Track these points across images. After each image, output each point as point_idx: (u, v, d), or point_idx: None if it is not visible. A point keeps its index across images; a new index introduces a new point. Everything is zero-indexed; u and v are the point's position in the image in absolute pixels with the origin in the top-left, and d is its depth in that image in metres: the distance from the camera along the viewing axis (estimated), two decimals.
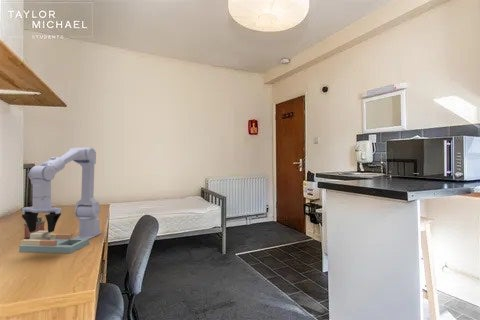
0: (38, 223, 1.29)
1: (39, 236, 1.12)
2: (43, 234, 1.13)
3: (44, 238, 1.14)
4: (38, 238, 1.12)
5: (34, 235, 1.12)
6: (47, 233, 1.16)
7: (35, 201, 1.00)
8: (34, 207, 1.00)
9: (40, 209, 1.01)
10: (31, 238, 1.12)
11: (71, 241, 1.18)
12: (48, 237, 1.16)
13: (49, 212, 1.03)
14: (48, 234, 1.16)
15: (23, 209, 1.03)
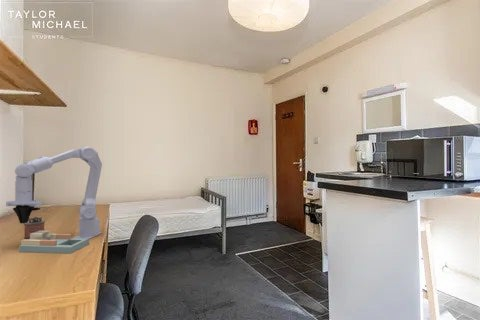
0: (38, 223, 1.29)
1: (39, 236, 1.12)
2: (43, 234, 1.13)
3: (44, 238, 1.14)
4: (38, 238, 1.12)
5: (34, 235, 1.12)
6: (47, 233, 1.16)
7: (17, 195, 1.12)
8: (16, 201, 1.13)
9: (22, 202, 1.13)
10: (31, 238, 1.12)
11: (71, 241, 1.18)
12: (48, 237, 1.16)
13: (30, 205, 1.15)
14: (48, 234, 1.16)
15: (7, 203, 1.15)
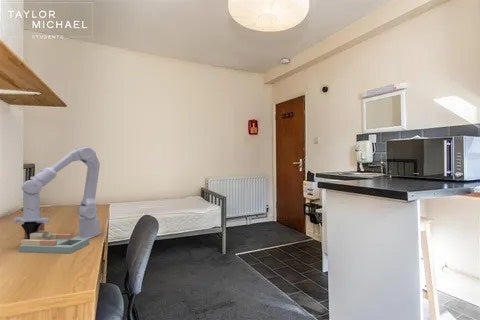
0: None
1: (39, 236, 1.12)
2: (43, 234, 1.13)
3: (44, 238, 1.14)
4: (38, 238, 1.12)
5: (34, 235, 1.12)
6: (47, 233, 1.16)
7: (25, 212, 1.12)
8: (24, 217, 1.12)
9: (30, 219, 1.12)
10: (31, 238, 1.12)
11: (71, 241, 1.18)
12: (48, 237, 1.16)
13: (38, 222, 1.15)
14: (48, 234, 1.16)
15: (15, 219, 1.15)
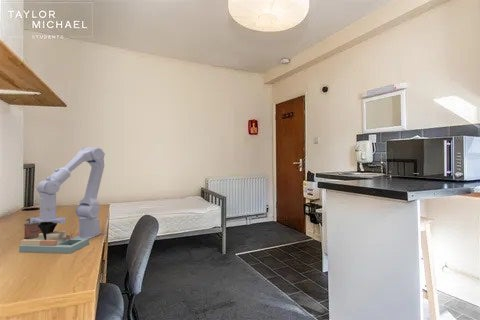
0: (38, 223, 1.29)
1: (56, 237, 1.12)
2: (59, 235, 1.13)
3: (60, 239, 1.13)
4: (55, 239, 1.12)
5: (51, 236, 1.12)
6: (63, 234, 1.15)
7: (42, 212, 1.12)
8: (41, 218, 1.12)
9: (46, 220, 1.12)
10: (47, 239, 1.12)
11: (71, 241, 1.18)
12: (64, 238, 1.16)
13: (54, 222, 1.14)
14: (64, 235, 1.16)
15: (31, 219, 1.14)
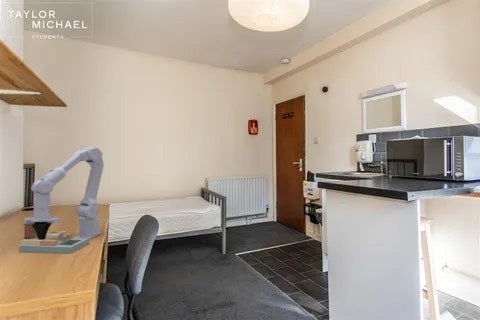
0: None
1: (56, 237, 1.12)
2: (59, 235, 1.13)
3: (60, 239, 1.13)
4: (55, 239, 1.12)
5: (51, 236, 1.12)
6: (63, 234, 1.15)
7: (36, 212, 1.12)
8: (35, 218, 1.12)
9: (40, 219, 1.12)
10: (48, 239, 1.12)
11: (71, 241, 1.18)
12: (64, 238, 1.16)
13: (48, 222, 1.14)
14: (64, 235, 1.16)
15: (25, 219, 1.14)
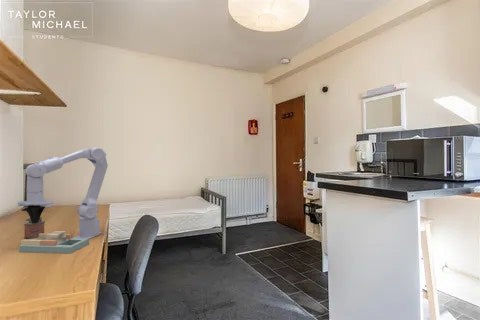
0: (38, 223, 1.29)
1: (56, 237, 1.12)
2: (59, 235, 1.13)
3: (60, 239, 1.13)
4: (55, 239, 1.12)
5: (51, 236, 1.12)
6: (63, 234, 1.15)
7: (29, 195, 1.13)
8: (28, 201, 1.13)
9: (33, 203, 1.13)
10: (48, 239, 1.12)
11: (71, 241, 1.18)
12: (64, 238, 1.16)
13: (42, 205, 1.15)
14: (64, 235, 1.16)
15: (18, 203, 1.15)
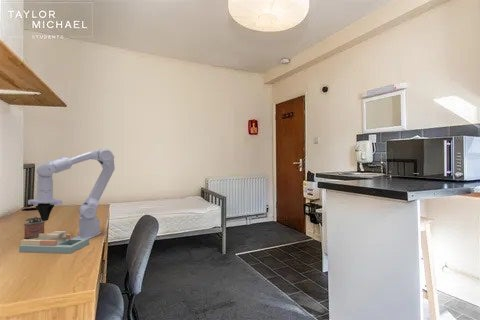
0: (38, 223, 1.29)
1: (56, 237, 1.12)
2: (59, 235, 1.13)
3: (60, 239, 1.13)
4: (55, 239, 1.12)
5: (51, 236, 1.12)
6: (63, 234, 1.15)
7: (39, 194, 1.17)
8: (38, 199, 1.17)
9: (44, 201, 1.17)
10: (48, 239, 1.12)
11: (71, 241, 1.18)
12: (64, 238, 1.16)
13: (51, 204, 1.19)
14: (64, 235, 1.16)
15: (29, 201, 1.19)
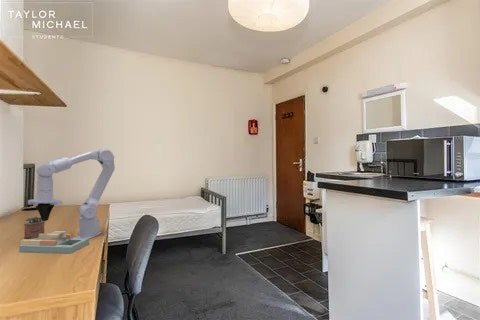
0: (38, 223, 1.29)
1: (56, 237, 1.12)
2: (59, 235, 1.13)
3: (60, 239, 1.13)
4: (55, 239, 1.12)
5: (51, 236, 1.12)
6: (63, 234, 1.15)
7: (39, 194, 1.17)
8: (38, 199, 1.17)
9: (44, 201, 1.17)
10: (48, 239, 1.12)
11: (71, 241, 1.18)
12: (64, 238, 1.16)
13: (51, 204, 1.19)
14: (64, 235, 1.16)
15: (29, 201, 1.19)
